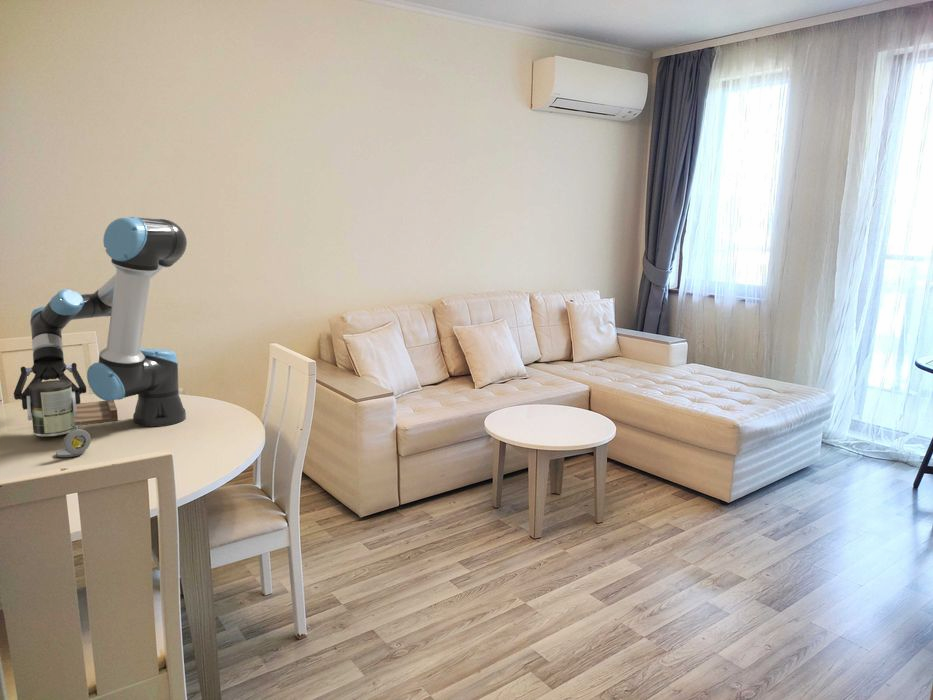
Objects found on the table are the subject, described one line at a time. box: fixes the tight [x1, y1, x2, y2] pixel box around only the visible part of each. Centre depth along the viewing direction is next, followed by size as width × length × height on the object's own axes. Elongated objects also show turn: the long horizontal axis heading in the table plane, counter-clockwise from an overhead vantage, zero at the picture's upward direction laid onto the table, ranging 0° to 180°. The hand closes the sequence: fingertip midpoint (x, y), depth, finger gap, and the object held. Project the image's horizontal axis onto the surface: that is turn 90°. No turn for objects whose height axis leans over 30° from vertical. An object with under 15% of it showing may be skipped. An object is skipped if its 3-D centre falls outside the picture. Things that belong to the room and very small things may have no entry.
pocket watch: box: [55, 421, 92, 458], centre depth 161 cm, size 8×8×10 cm
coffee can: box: [27, 379, 75, 438], centre depth 174 cm, size 10×10×14 cm
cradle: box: [74, 400, 119, 426], centre depth 197 cm, size 24×17×4 cm
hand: (52, 415), depth 172 cm, fingers closed on coffee can, 10 cm apart
